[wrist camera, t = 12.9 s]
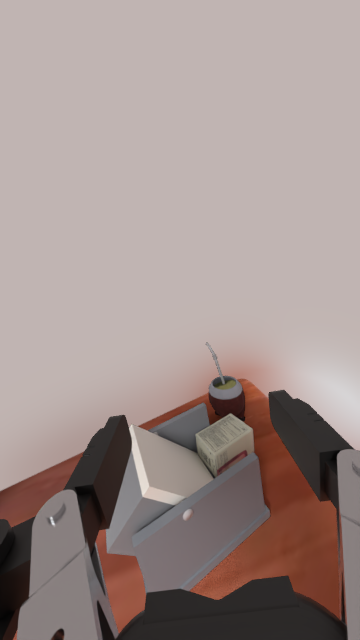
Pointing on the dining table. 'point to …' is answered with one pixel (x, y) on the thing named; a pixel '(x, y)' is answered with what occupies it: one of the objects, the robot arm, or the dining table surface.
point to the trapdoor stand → (200, 516)
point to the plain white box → (152, 486)
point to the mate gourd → (226, 394)
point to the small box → (224, 444)
